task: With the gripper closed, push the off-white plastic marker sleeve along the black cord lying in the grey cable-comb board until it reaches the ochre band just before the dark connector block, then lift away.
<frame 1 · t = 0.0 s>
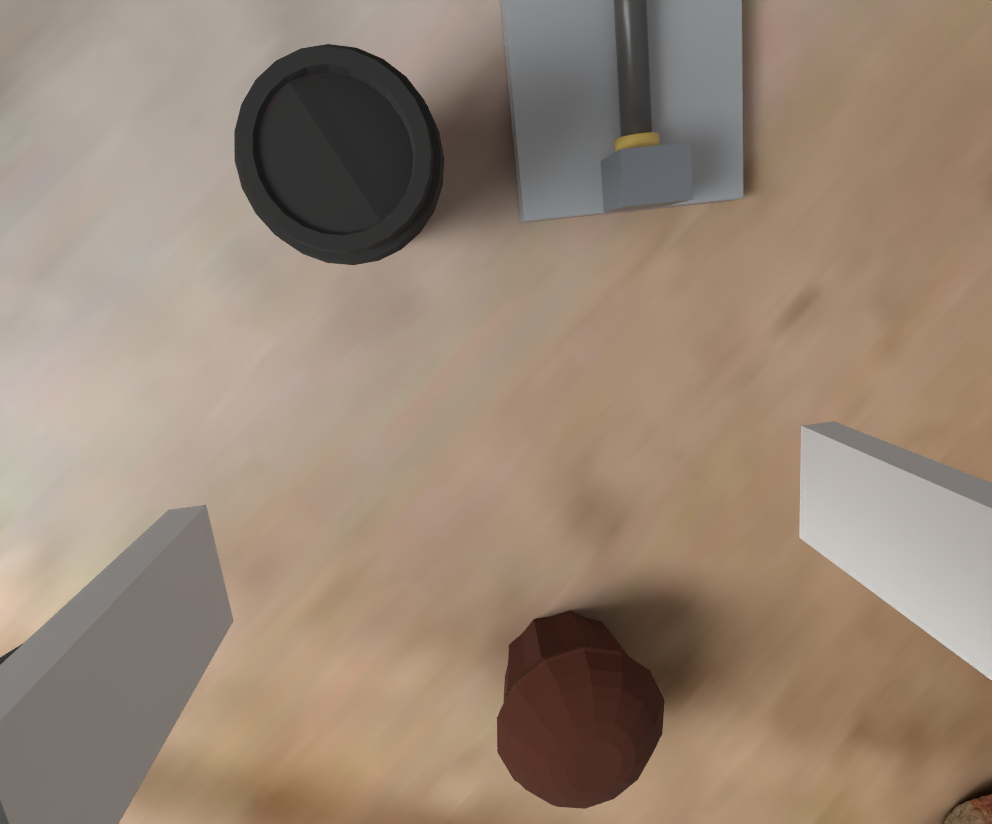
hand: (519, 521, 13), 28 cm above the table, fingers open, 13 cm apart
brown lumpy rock: (984, 809, 55), on the table
coffee cup: (373, 196, 38), on the table
muffin: (560, 662, 47), on the table
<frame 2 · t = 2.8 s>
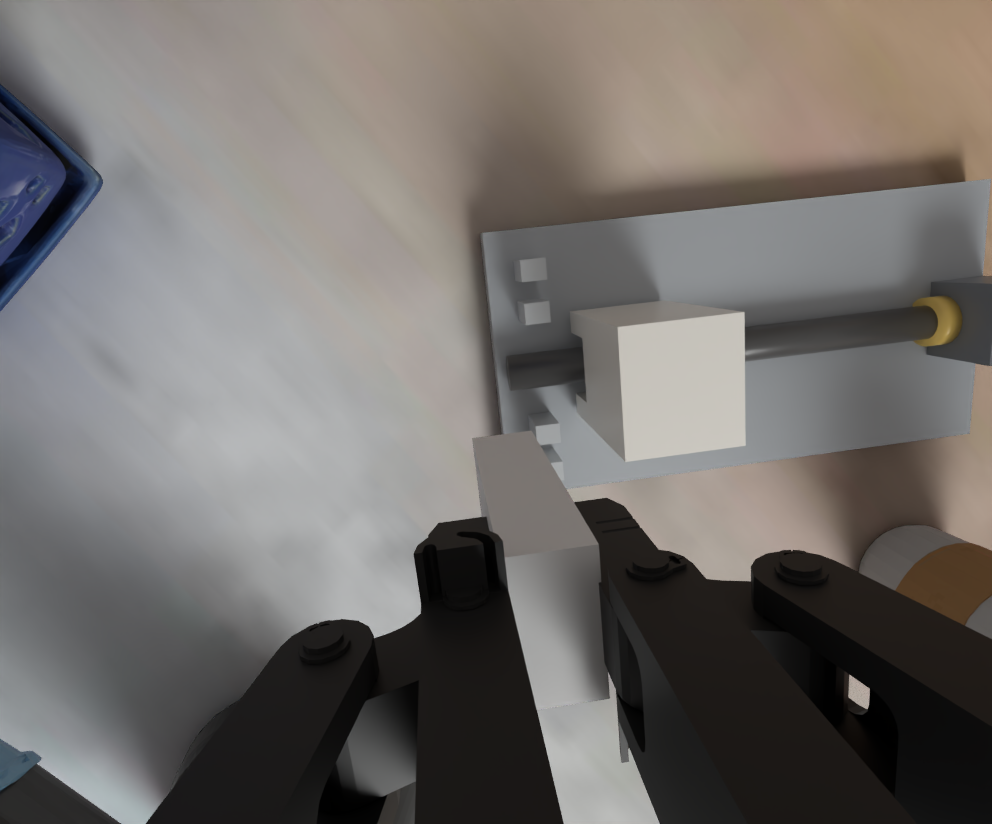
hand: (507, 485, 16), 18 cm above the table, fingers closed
marker sleeve: (647, 370, 28), point 6 cm above the table, slide at 0.0 cm
coffee cup: (899, 566, 39), on the table
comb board: (732, 338, 34), on the table
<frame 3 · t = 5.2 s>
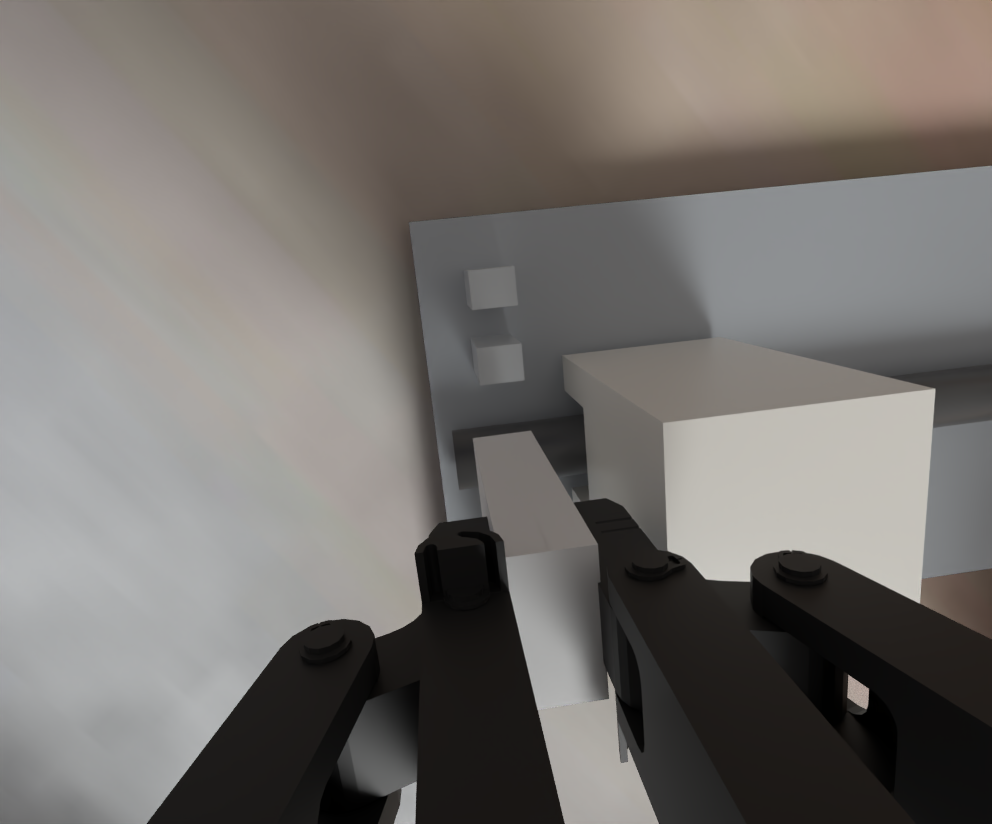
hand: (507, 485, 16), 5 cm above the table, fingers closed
marker sleeve: (701, 473, 15), point 6 cm above the table, slide at 0.1 cm, touching gripper
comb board: (817, 393, 22), on the table
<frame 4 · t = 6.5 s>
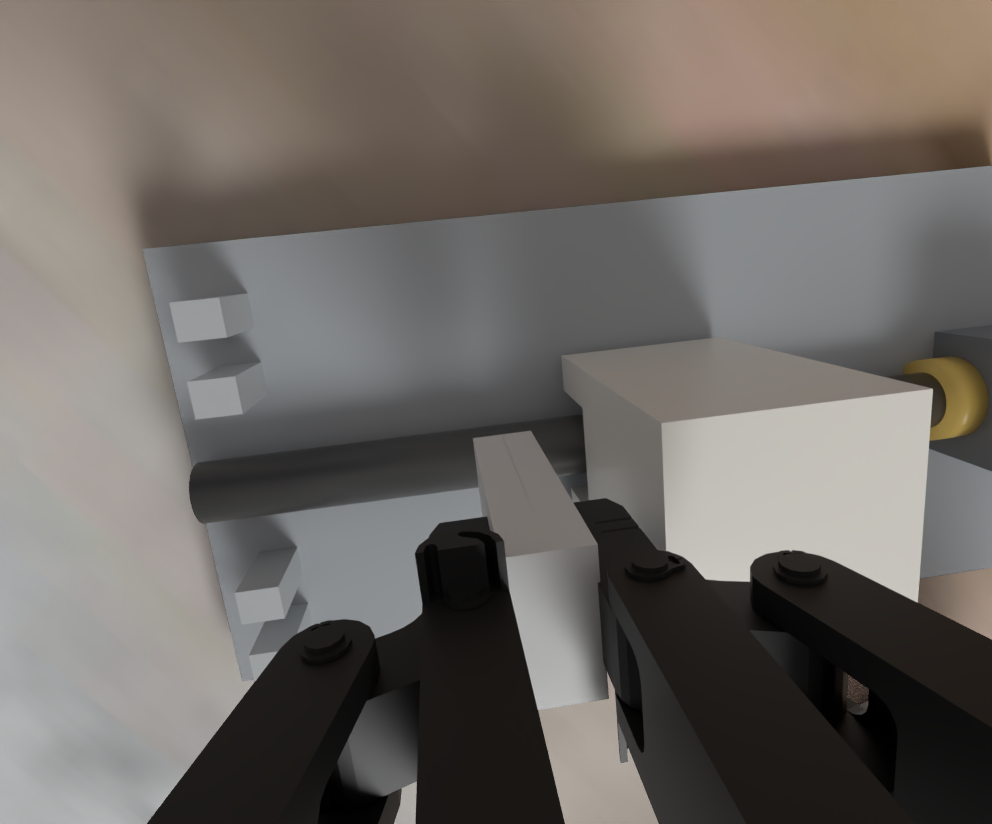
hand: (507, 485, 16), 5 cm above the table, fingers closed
marker sleeve: (700, 472, 15), point 6 cm above the table, slide at 7.5 cm, touching gripper
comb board: (612, 418, 21), on the table
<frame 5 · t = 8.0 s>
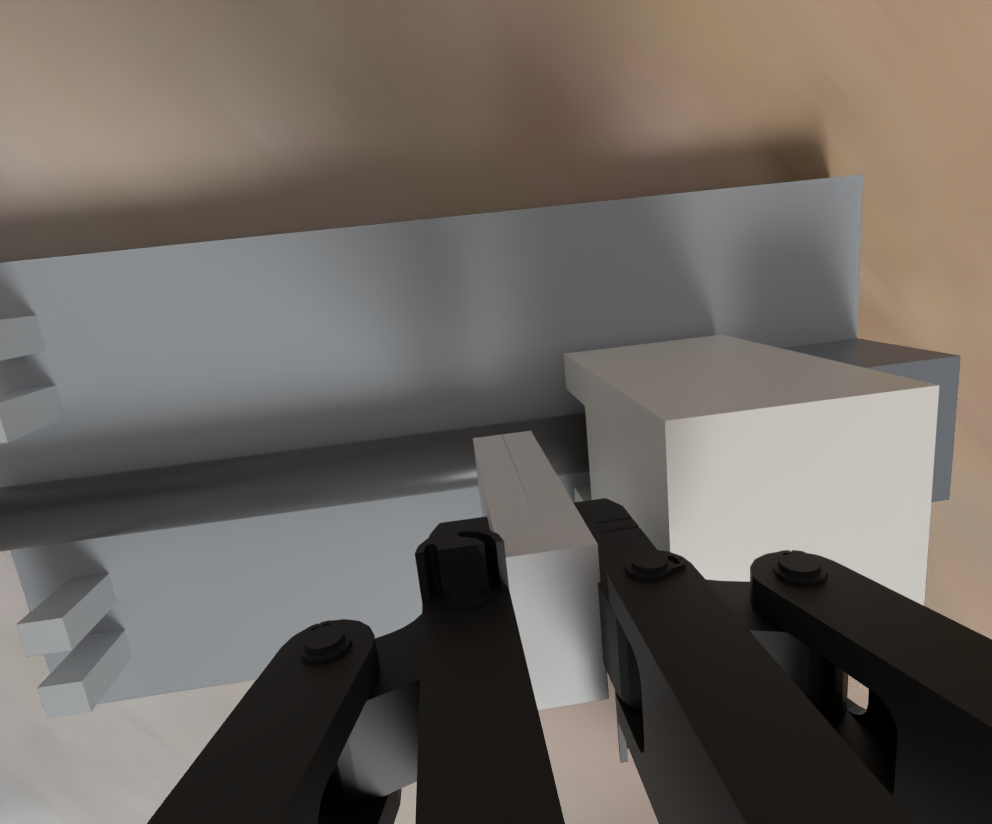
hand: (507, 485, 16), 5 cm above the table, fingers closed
marker sleeve: (704, 471, 15), point 6 cm above the table, slide at 13.3 cm, touching gripper
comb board: (446, 438, 21), on the table
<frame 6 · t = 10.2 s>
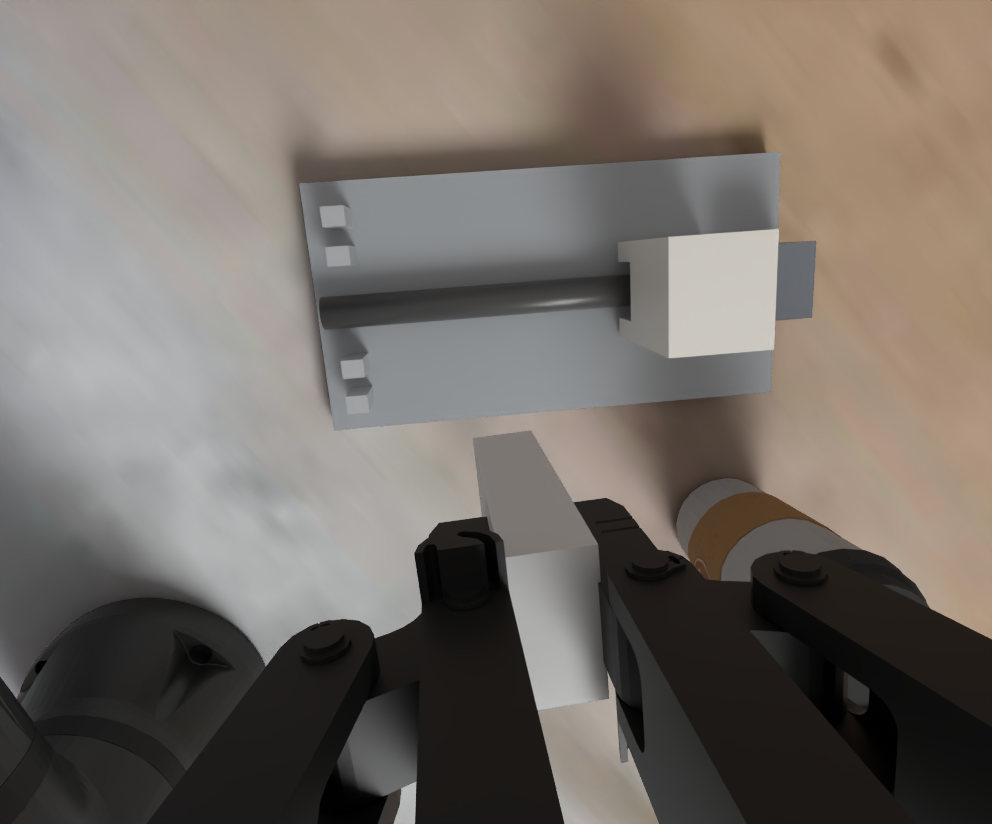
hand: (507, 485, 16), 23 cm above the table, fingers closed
marker sleeve: (687, 290, 32), point 6 cm above the table, slide at 13.4 cm
coffee cup: (717, 518, 42), on the table
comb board: (547, 293, 37), on the table
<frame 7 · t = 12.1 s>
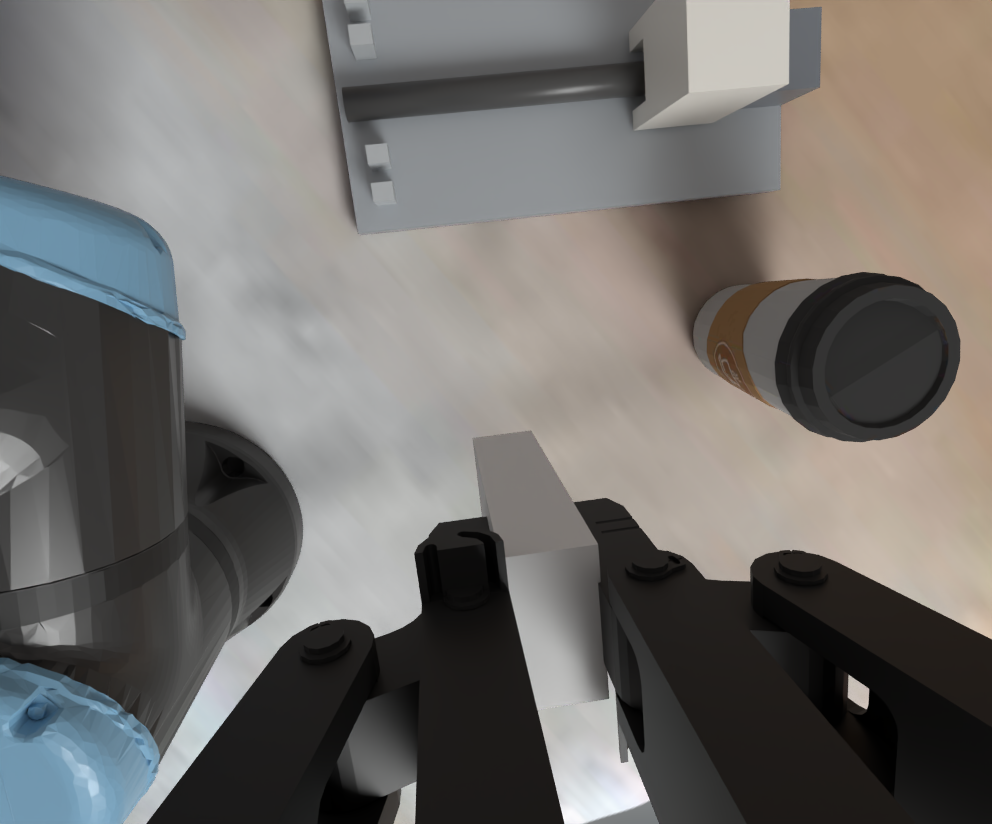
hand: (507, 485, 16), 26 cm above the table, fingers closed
marker sleeve: (700, 55, 33), point 6 cm above the table, slide at 13.4 cm
coffee cup: (732, 330, 43), on the table
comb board: (560, 96, 38), on the table
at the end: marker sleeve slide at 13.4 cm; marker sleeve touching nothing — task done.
